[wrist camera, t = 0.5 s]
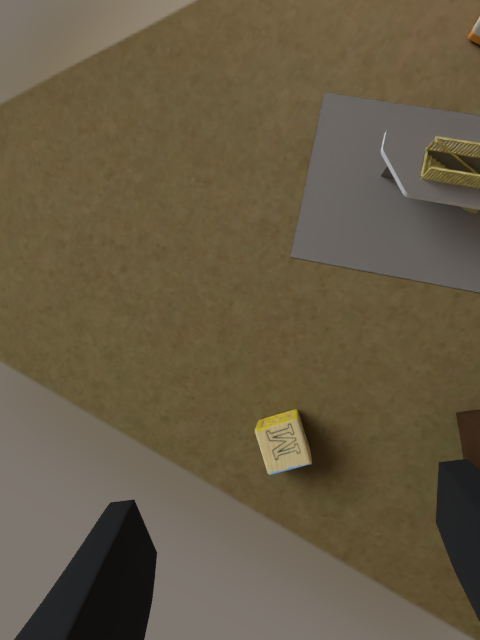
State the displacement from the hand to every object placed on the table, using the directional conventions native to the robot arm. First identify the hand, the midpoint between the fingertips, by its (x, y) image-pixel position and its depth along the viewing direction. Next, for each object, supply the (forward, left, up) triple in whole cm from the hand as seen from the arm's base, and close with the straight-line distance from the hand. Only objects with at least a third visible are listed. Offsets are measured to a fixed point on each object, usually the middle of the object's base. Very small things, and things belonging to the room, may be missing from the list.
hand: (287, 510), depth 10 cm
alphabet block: (-4, 0, -20) cm, 20 cm away
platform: (+11, -13, -20) cm, 26 cm away
